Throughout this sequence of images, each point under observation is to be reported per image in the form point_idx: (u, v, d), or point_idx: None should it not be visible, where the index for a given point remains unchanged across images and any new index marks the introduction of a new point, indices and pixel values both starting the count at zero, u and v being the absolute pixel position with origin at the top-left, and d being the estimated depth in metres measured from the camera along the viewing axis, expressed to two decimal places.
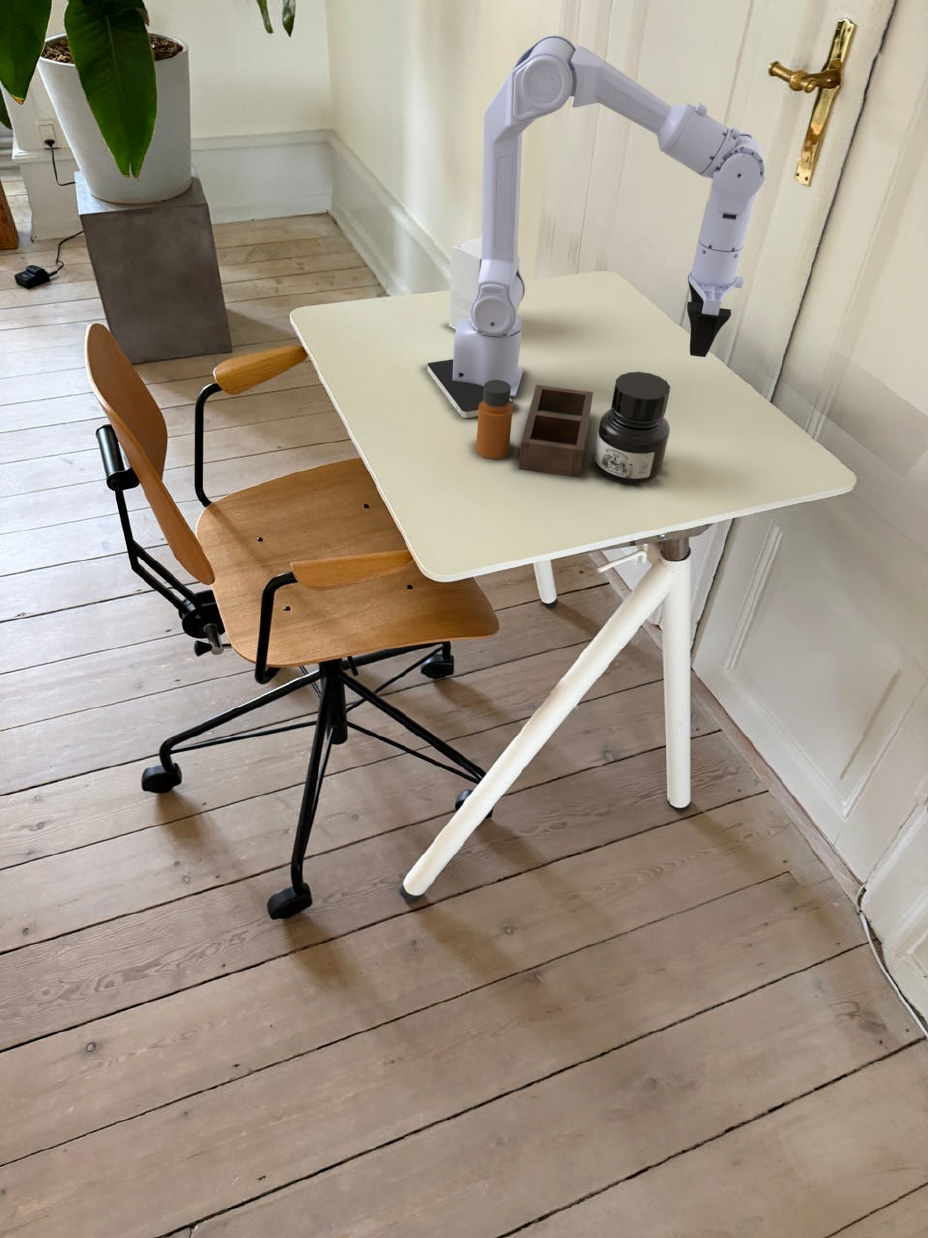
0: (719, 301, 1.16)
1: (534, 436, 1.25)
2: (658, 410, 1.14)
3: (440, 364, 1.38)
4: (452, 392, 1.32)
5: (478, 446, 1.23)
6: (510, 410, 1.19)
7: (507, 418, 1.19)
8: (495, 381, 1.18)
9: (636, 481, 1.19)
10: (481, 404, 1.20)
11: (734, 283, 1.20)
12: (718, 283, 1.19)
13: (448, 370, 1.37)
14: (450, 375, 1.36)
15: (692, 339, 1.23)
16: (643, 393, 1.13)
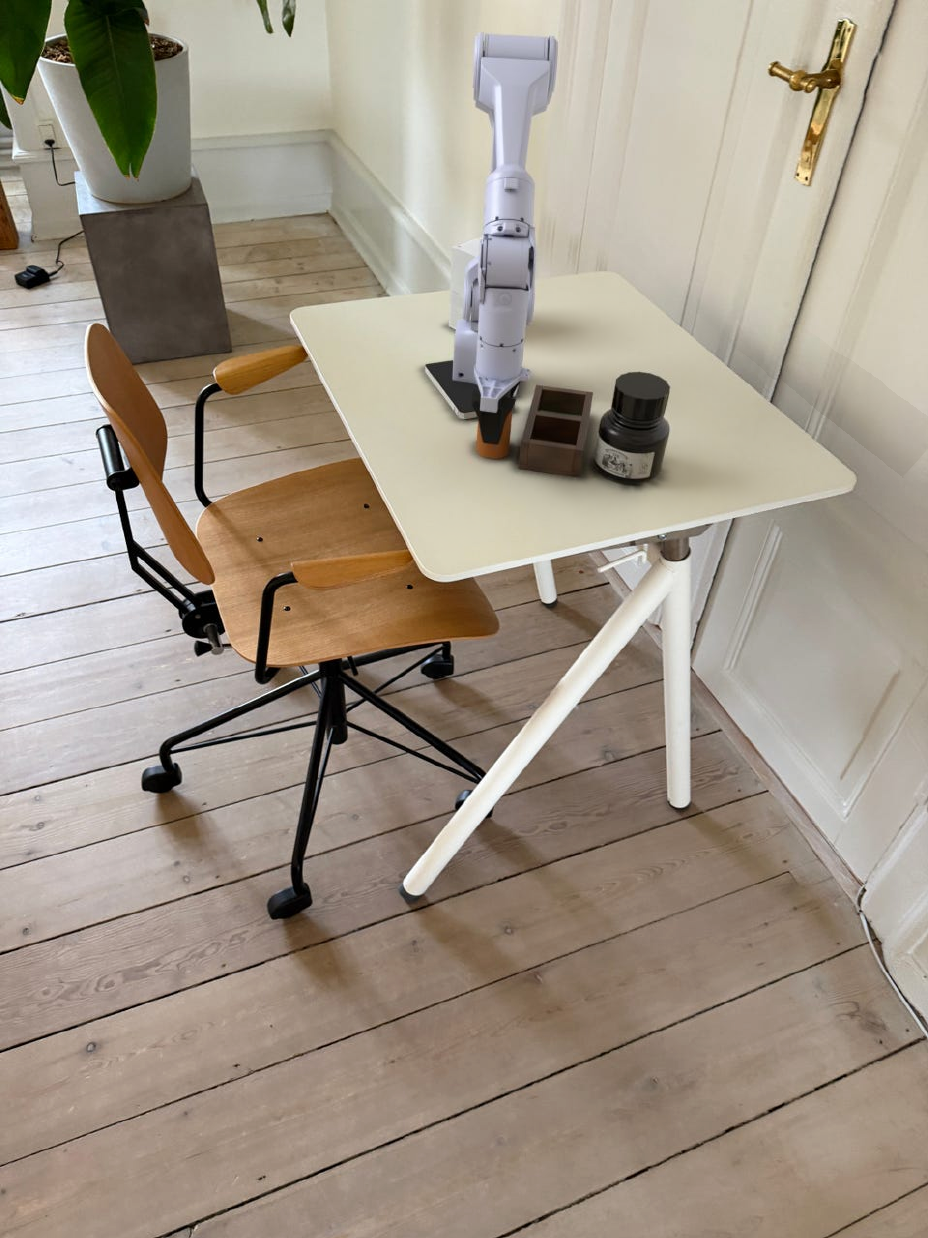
0: (495, 399, 1.11)
1: (534, 436, 1.25)
2: (658, 410, 1.14)
3: (438, 365, 1.38)
4: (450, 393, 1.32)
5: (478, 446, 1.23)
6: None
7: (507, 418, 1.19)
8: None
9: (636, 481, 1.19)
10: None
11: (518, 377, 1.15)
12: (500, 377, 1.14)
13: (446, 371, 1.37)
14: (448, 376, 1.36)
15: (482, 427, 1.18)
16: (643, 393, 1.13)
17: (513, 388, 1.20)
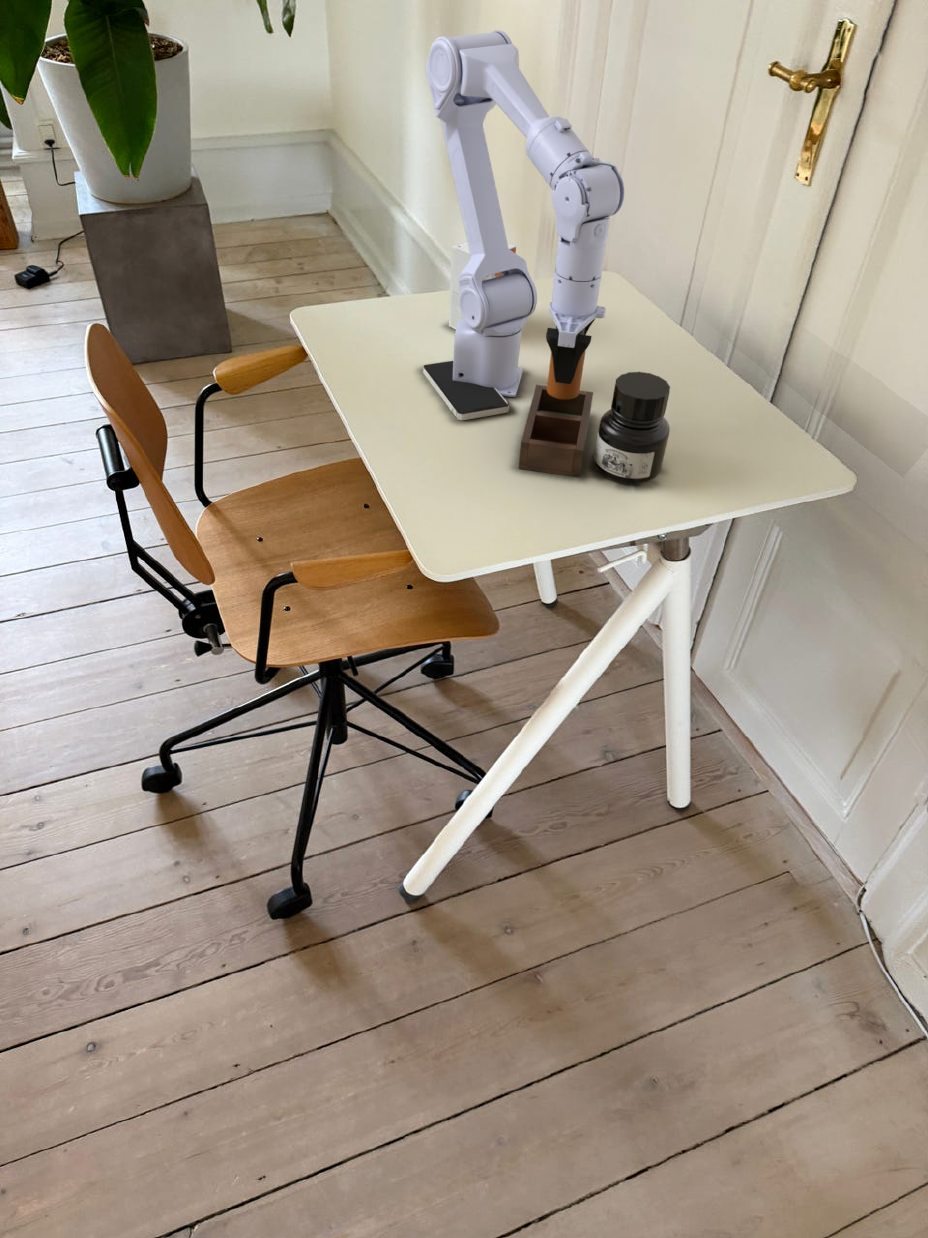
0: (574, 333, 1.11)
1: (534, 436, 1.25)
2: (658, 410, 1.14)
3: (436, 366, 1.38)
4: (448, 394, 1.32)
5: (549, 386, 1.23)
6: None
7: None
8: None
9: (636, 481, 1.19)
10: None
11: (594, 313, 1.15)
12: (576, 314, 1.14)
13: (444, 372, 1.37)
14: (446, 377, 1.36)
15: (555, 365, 1.19)
16: (643, 393, 1.13)
17: (586, 328, 1.20)
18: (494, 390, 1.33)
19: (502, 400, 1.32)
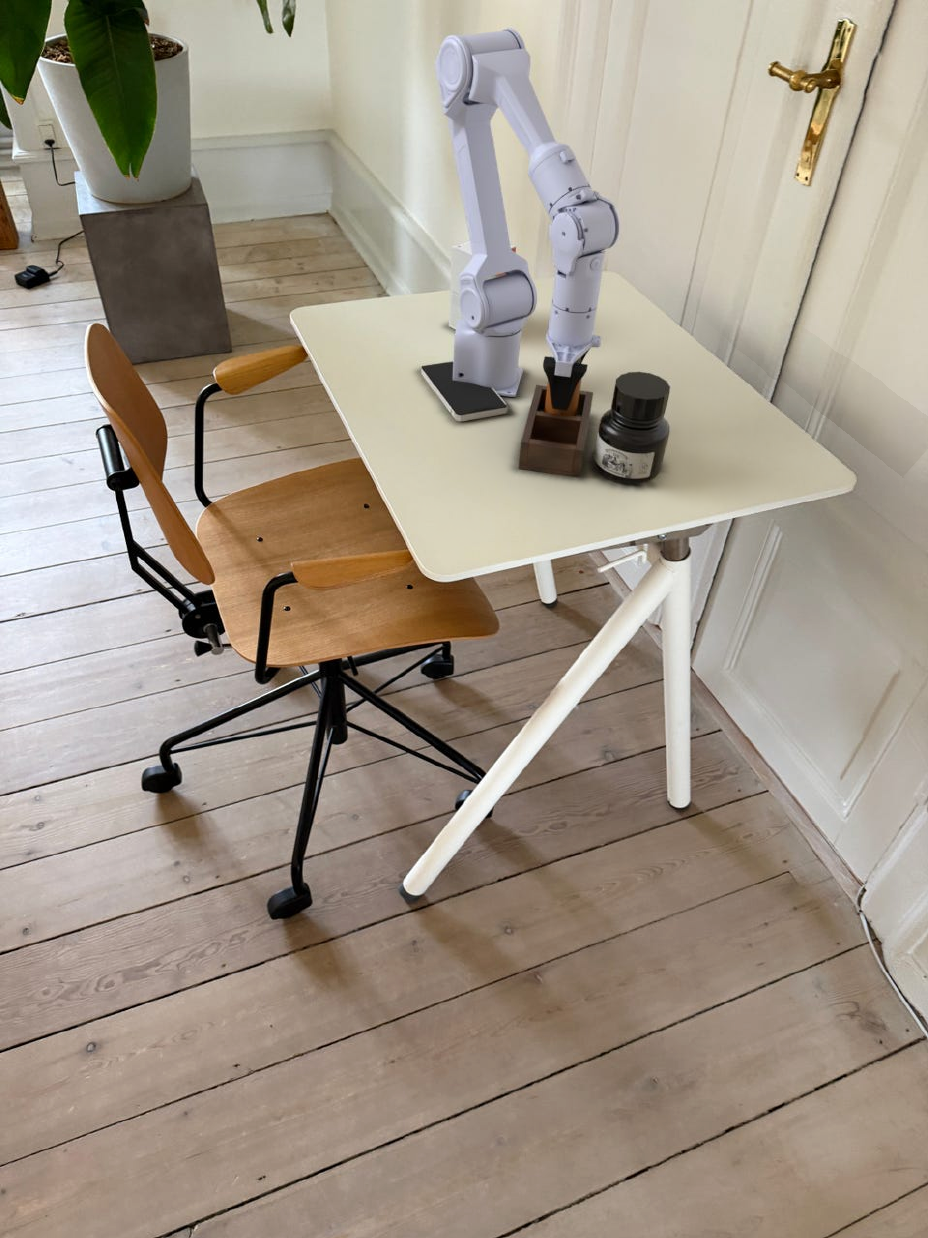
0: (570, 363, 1.14)
1: (534, 436, 1.25)
2: (658, 410, 1.14)
3: (434, 367, 1.38)
4: (446, 395, 1.32)
5: (546, 412, 1.26)
6: None
7: None
8: None
9: (636, 481, 1.19)
10: None
11: (590, 343, 1.18)
12: (572, 343, 1.17)
13: (442, 373, 1.37)
14: (444, 378, 1.35)
15: (552, 393, 1.22)
16: (643, 393, 1.13)
17: (582, 355, 1.23)
18: (492, 391, 1.33)
19: (500, 401, 1.31)
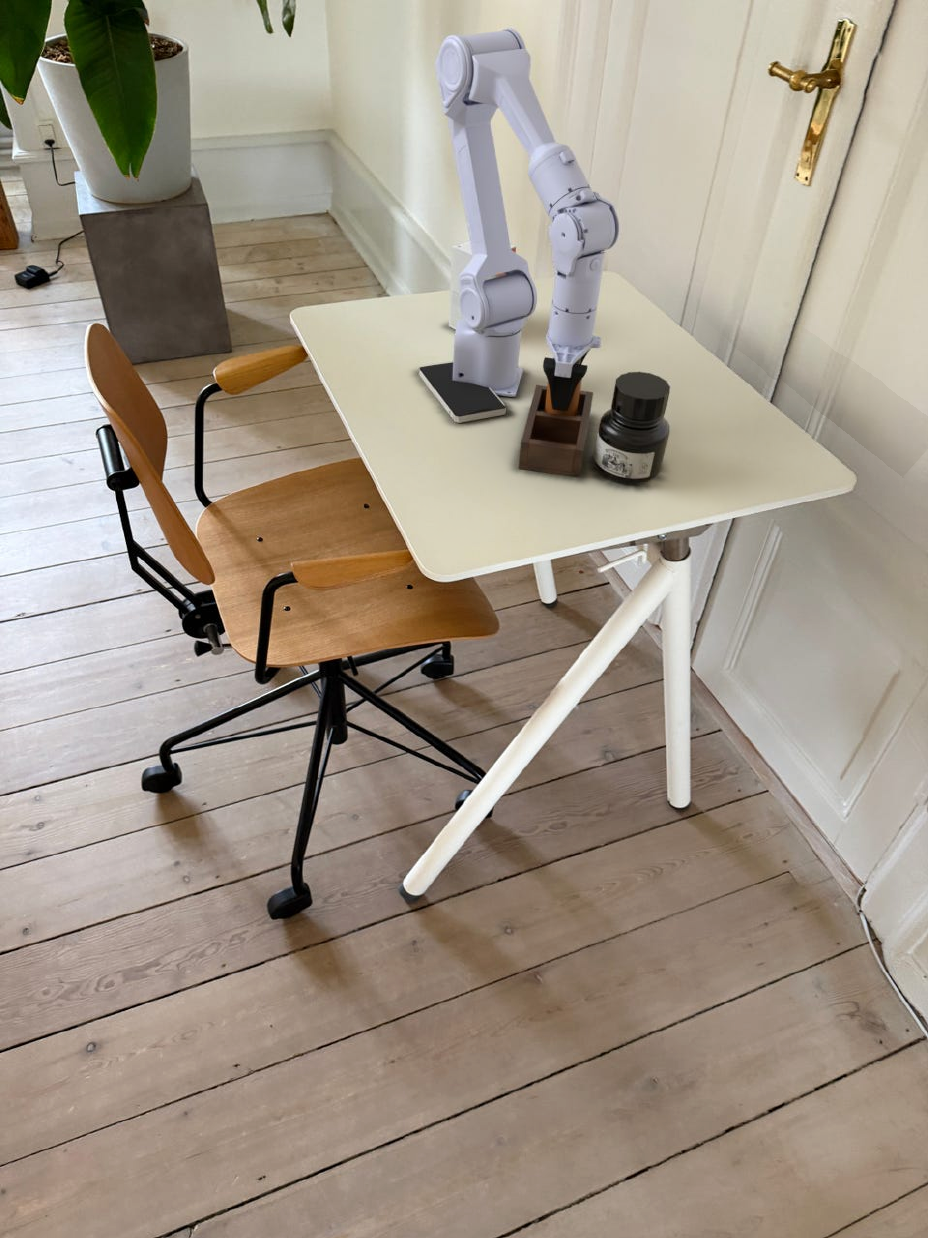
0: (570, 364, 1.14)
1: (534, 436, 1.25)
2: (658, 410, 1.14)
3: (432, 368, 1.37)
4: (445, 396, 1.31)
5: None
6: None
7: None
8: None
9: (636, 481, 1.19)
10: None
11: (590, 343, 1.18)
12: (572, 344, 1.17)
13: (440, 374, 1.36)
14: (442, 380, 1.35)
15: (552, 394, 1.22)
16: (643, 393, 1.13)
17: (582, 356, 1.23)
18: (491, 392, 1.33)
19: (499, 402, 1.31)
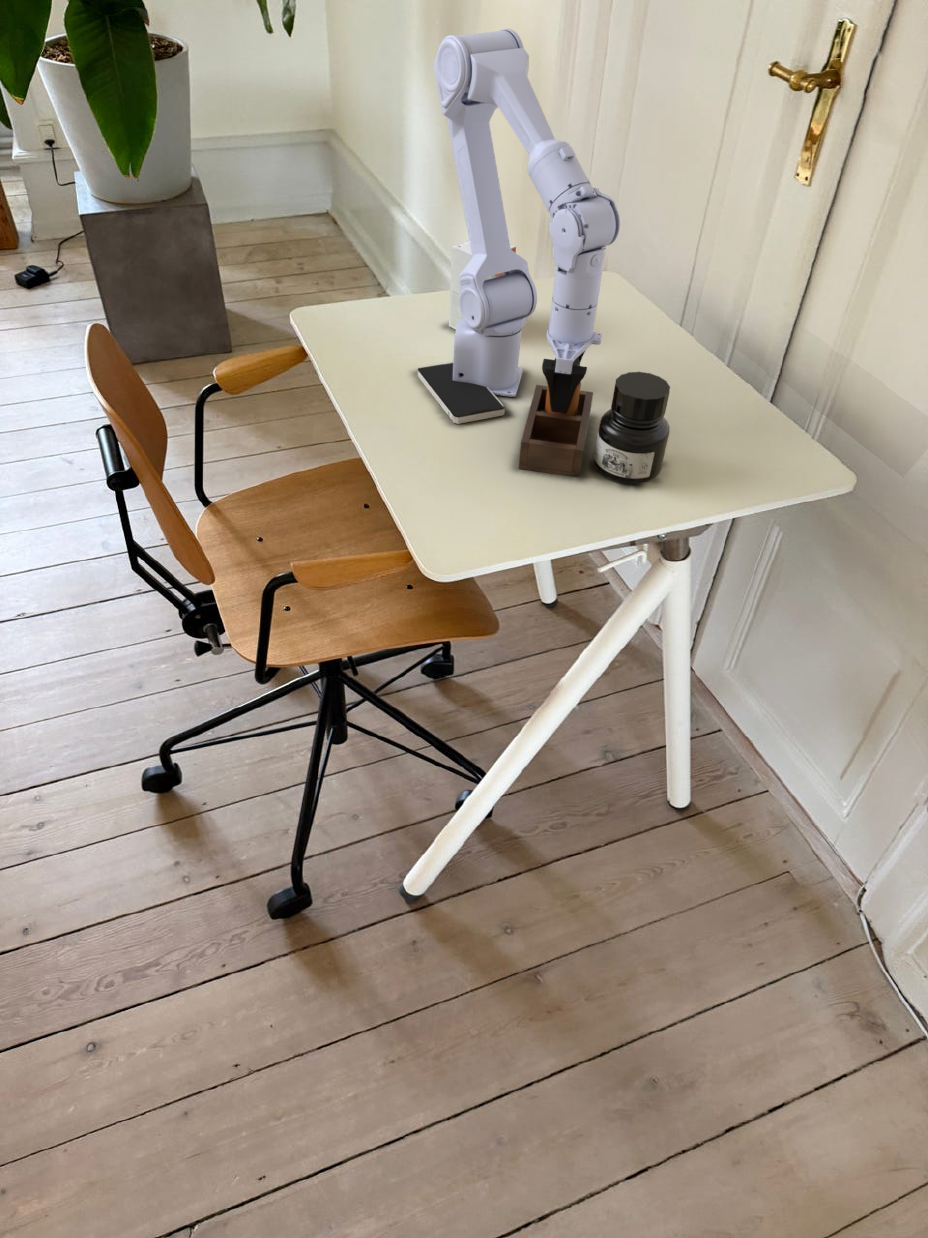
0: (570, 360, 1.14)
1: (534, 436, 1.25)
2: (658, 410, 1.14)
3: (431, 369, 1.37)
4: (443, 397, 1.31)
5: None
6: (579, 384, 1.23)
7: (575, 392, 1.23)
8: None
9: (636, 481, 1.19)
10: None
11: (591, 340, 1.18)
12: (573, 340, 1.17)
13: (439, 375, 1.36)
14: (441, 380, 1.35)
15: (551, 395, 1.20)
16: (643, 393, 1.13)
17: None
18: (489, 393, 1.33)
19: (498, 402, 1.31)
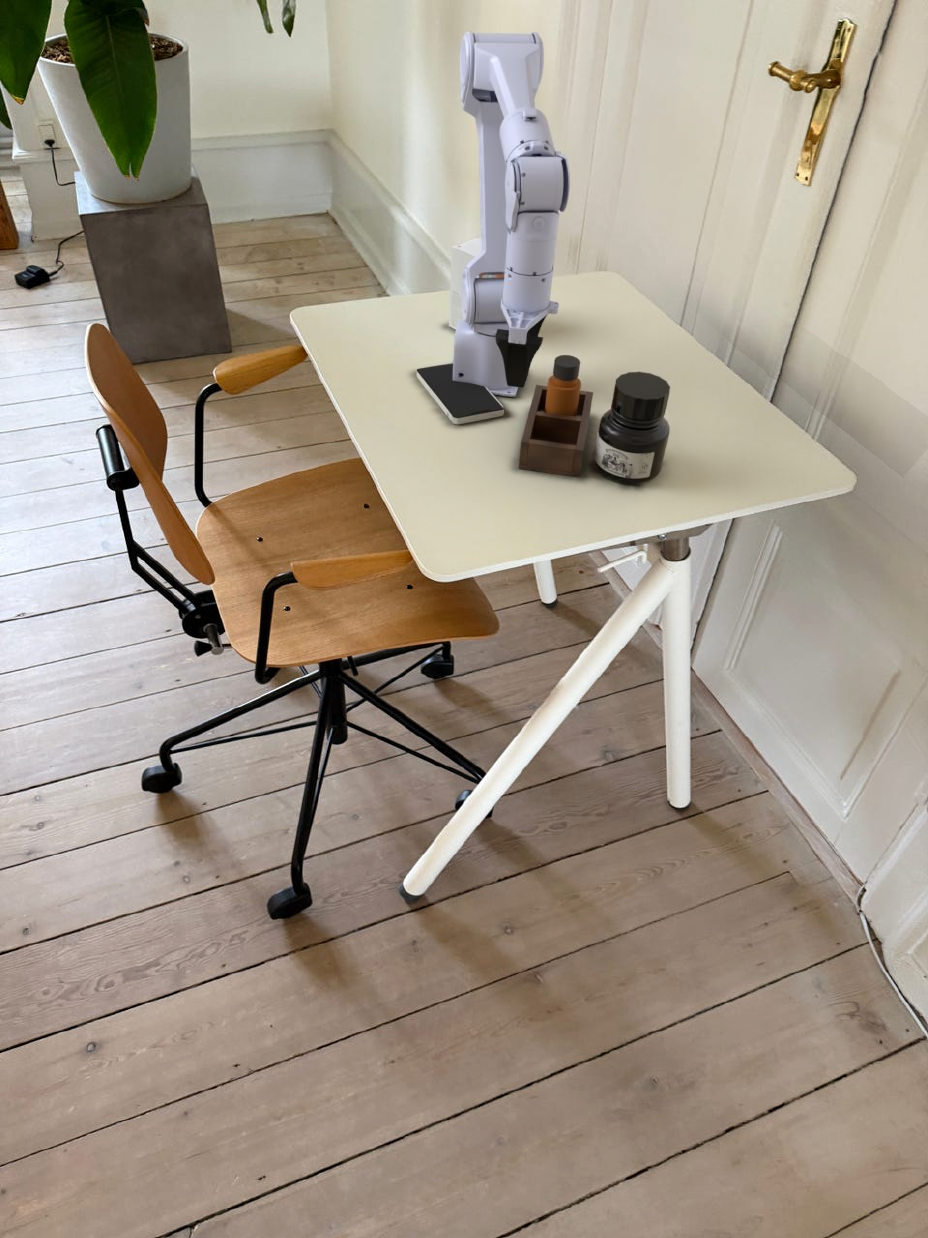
0: (524, 329, 1.07)
1: (534, 436, 1.25)
2: (658, 410, 1.14)
3: (430, 370, 1.37)
4: (443, 398, 1.31)
5: None
6: (579, 384, 1.23)
7: (575, 392, 1.23)
8: (565, 356, 1.22)
9: (636, 481, 1.19)
10: (550, 379, 1.24)
11: (547, 309, 1.11)
12: (528, 309, 1.10)
13: (438, 375, 1.36)
14: (440, 381, 1.35)
15: (507, 368, 1.14)
16: (643, 393, 1.13)
17: (541, 319, 1.17)
18: (489, 393, 1.33)
19: (497, 403, 1.31)
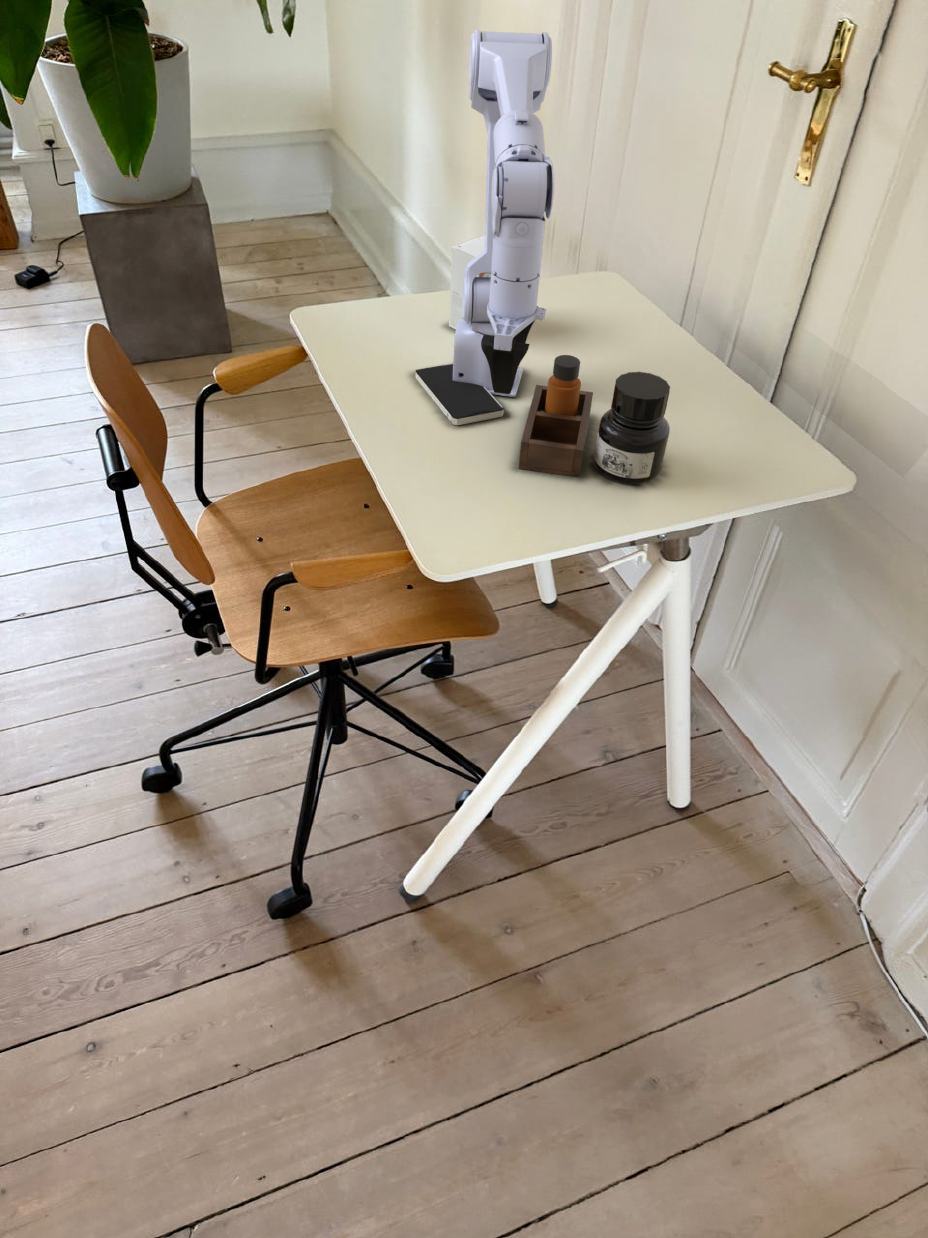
0: (509, 336, 1.06)
1: (534, 436, 1.25)
2: (658, 410, 1.14)
3: (429, 371, 1.37)
4: (442, 399, 1.31)
5: None
6: (579, 384, 1.23)
7: (575, 392, 1.23)
8: (565, 356, 1.22)
9: (636, 481, 1.19)
10: (550, 379, 1.24)
11: (533, 315, 1.10)
12: (514, 315, 1.09)
13: (436, 376, 1.36)
14: (439, 382, 1.35)
15: (493, 375, 1.13)
16: (643, 393, 1.13)
17: (528, 325, 1.16)
18: (488, 394, 1.33)
19: (496, 404, 1.31)
